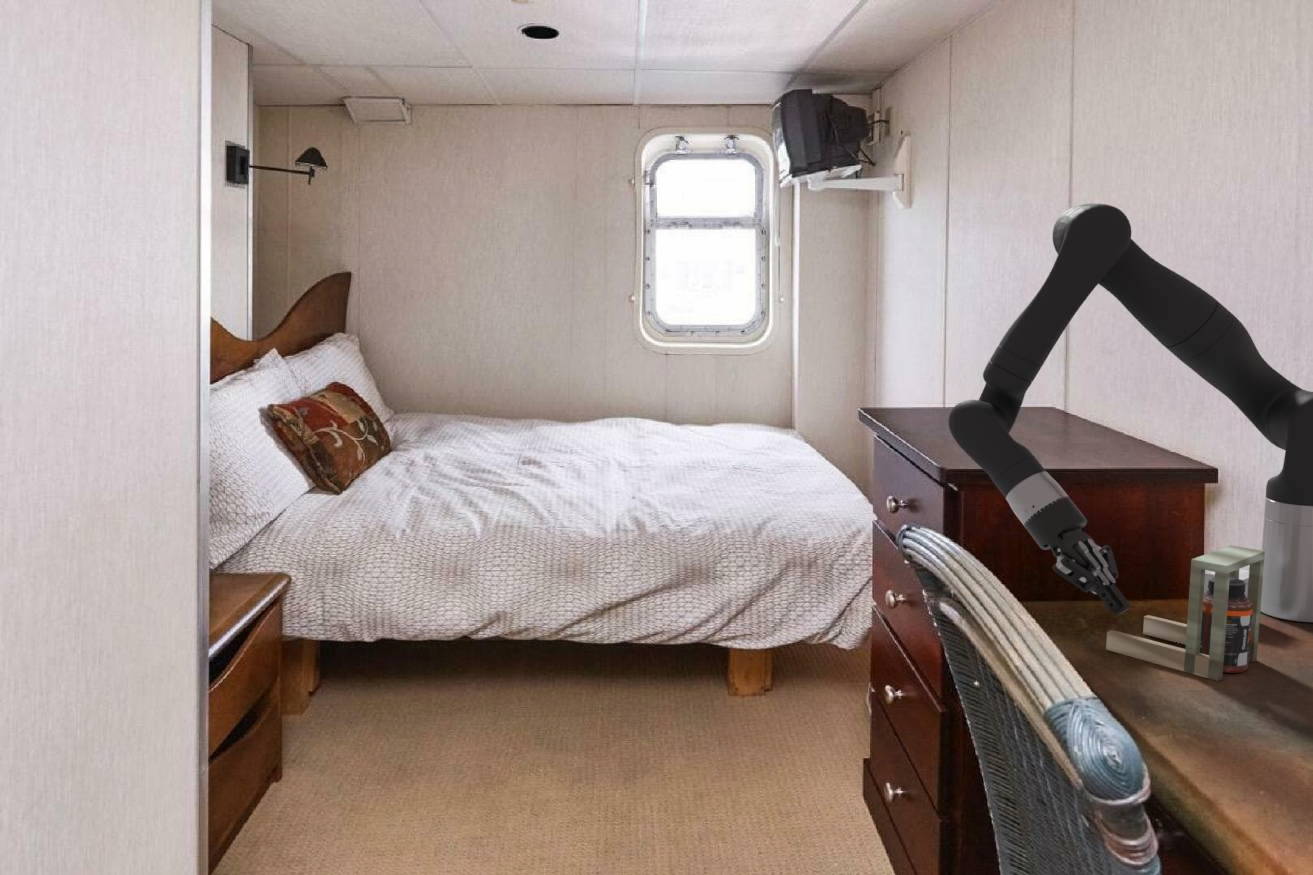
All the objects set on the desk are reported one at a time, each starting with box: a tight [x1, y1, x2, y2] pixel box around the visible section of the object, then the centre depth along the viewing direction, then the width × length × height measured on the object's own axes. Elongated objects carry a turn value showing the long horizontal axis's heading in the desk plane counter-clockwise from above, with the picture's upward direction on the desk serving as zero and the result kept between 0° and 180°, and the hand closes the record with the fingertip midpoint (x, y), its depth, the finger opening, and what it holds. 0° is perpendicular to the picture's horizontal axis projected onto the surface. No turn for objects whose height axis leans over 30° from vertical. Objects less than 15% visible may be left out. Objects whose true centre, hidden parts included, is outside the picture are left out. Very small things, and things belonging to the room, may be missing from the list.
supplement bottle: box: [1200, 577, 1253, 674], centre depth 120 cm, size 6×6×11 cm
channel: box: [1105, 545, 1265, 682], centre depth 124 cm, size 11×14×14 cm
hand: (1123, 611), depth 130 cm, fingers closed
